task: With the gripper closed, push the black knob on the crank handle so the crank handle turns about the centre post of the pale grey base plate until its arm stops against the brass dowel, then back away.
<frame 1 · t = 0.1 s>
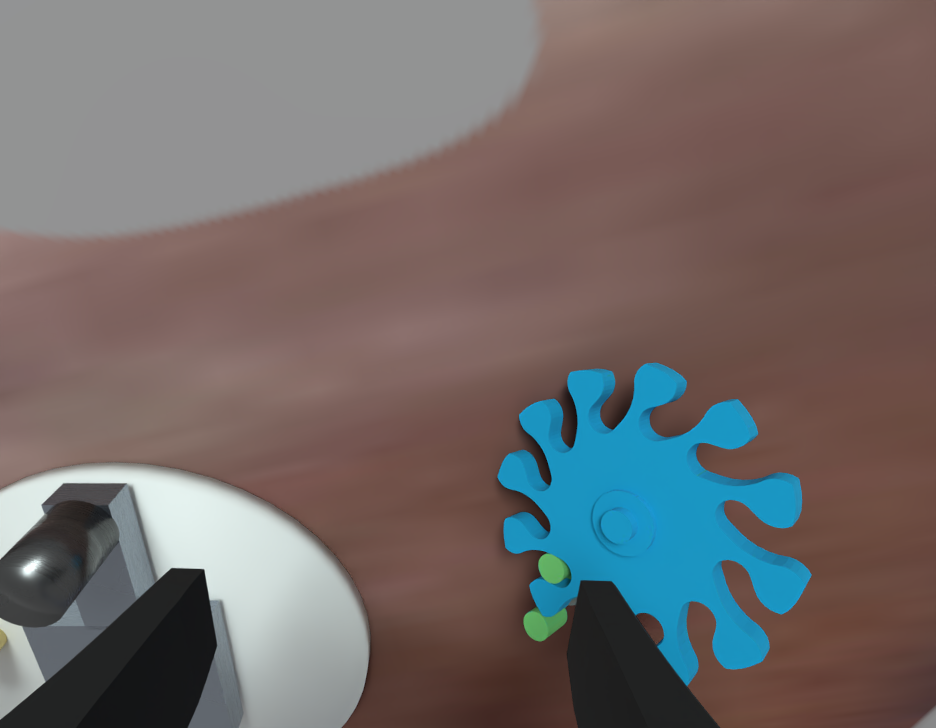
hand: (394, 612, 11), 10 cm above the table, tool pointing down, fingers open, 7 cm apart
crank handle: (104, 656, 21), point 3 cm above the table, hinge at 0.0°
gear: (595, 459, 22), on the table
base plate: (163, 634, 25), on the table
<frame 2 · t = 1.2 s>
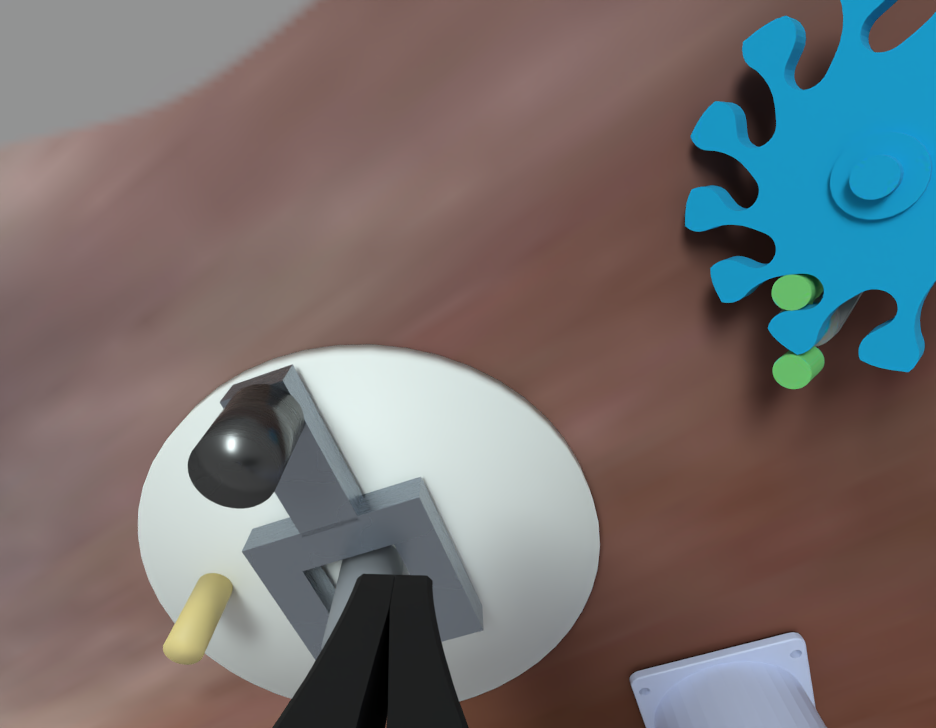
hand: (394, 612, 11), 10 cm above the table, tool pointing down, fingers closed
crank handle: (329, 553, 20), point 3 cm above the table, hinge at 0.0°
gear: (792, 177, 18), on the table
base plate: (376, 545, 24), on the table
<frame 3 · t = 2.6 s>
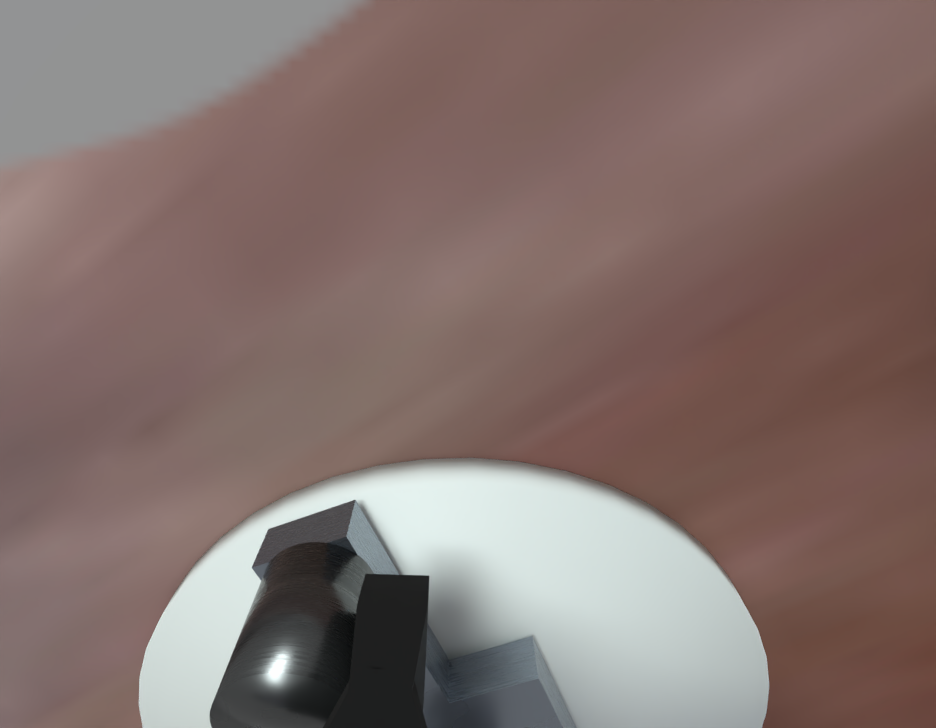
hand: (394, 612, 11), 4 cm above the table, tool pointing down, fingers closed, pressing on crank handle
base plate: (457, 702, 18), on the table
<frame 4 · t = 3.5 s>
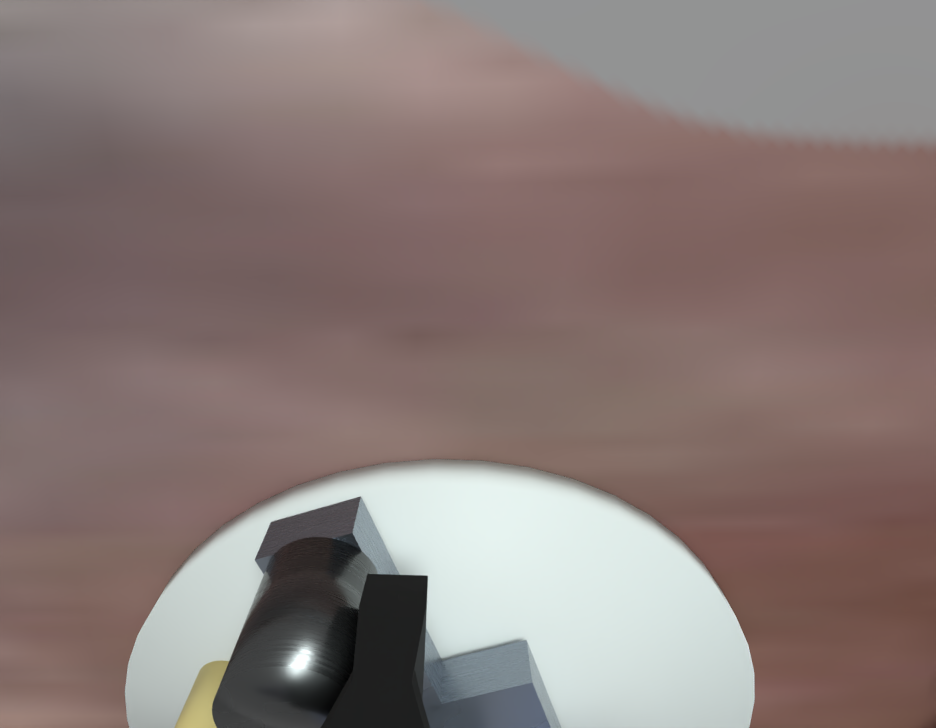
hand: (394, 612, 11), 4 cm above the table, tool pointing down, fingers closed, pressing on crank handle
base plate: (445, 704, 18), on the table
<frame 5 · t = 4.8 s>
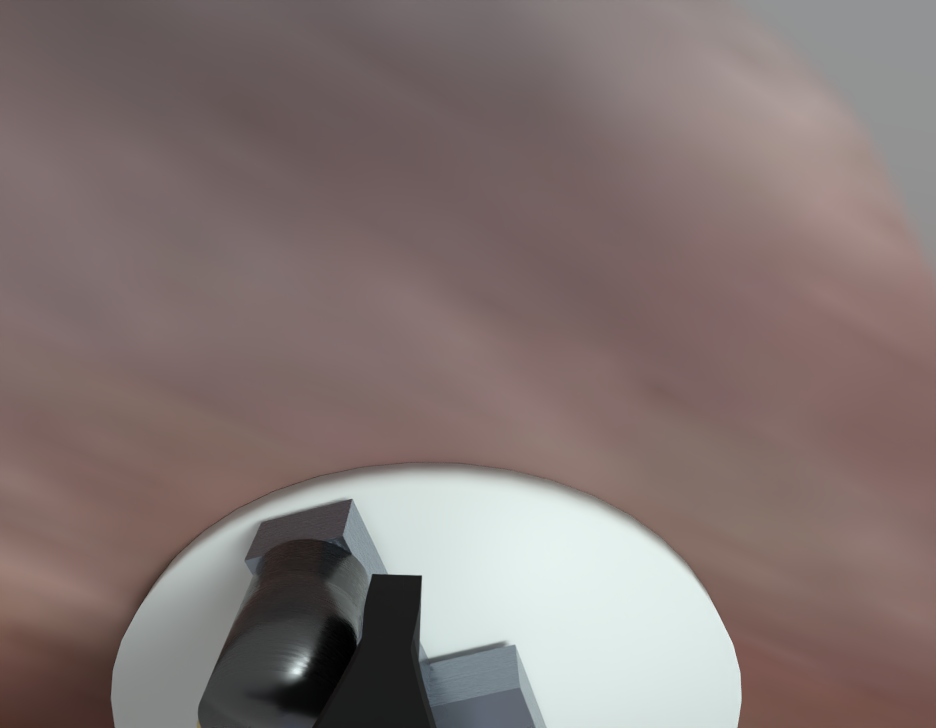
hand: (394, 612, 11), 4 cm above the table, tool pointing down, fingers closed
base plate: (432, 706, 18), on the table
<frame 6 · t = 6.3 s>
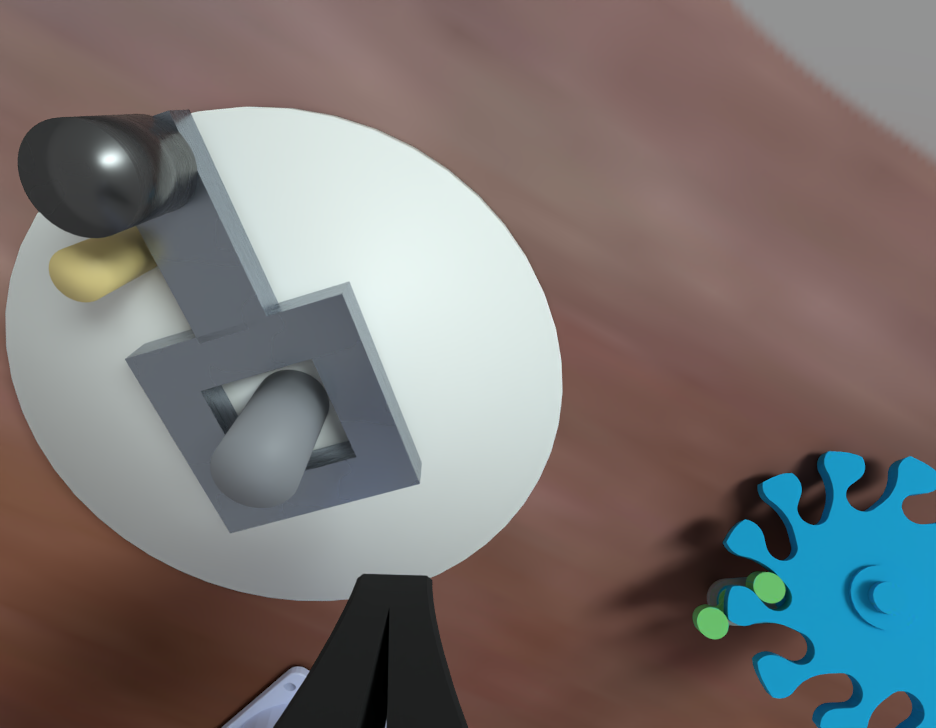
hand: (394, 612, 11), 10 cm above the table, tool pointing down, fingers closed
crank handle: (227, 355, 16), point 3 cm above the table, hinge at 60.1°
gear: (798, 522, 24), on the table
base plate: (300, 388, 20), on the table
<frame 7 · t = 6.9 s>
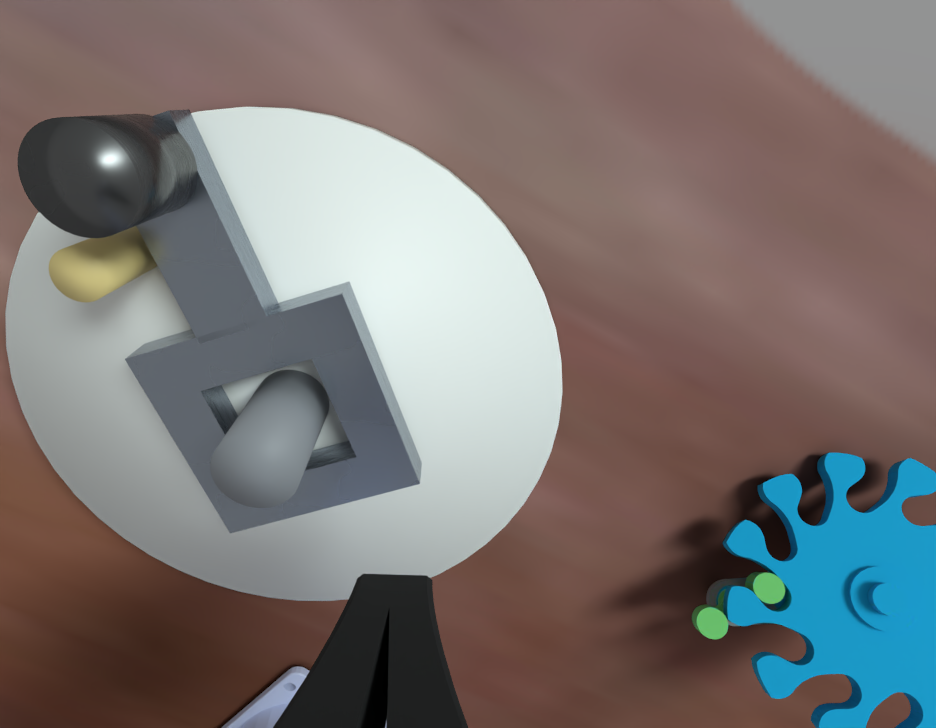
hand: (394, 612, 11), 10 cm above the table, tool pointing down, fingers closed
crank handle: (227, 355, 16), point 3 cm above the table, hinge at 60.1°
gear: (798, 524, 24), on the table
base plate: (300, 388, 20), on the table
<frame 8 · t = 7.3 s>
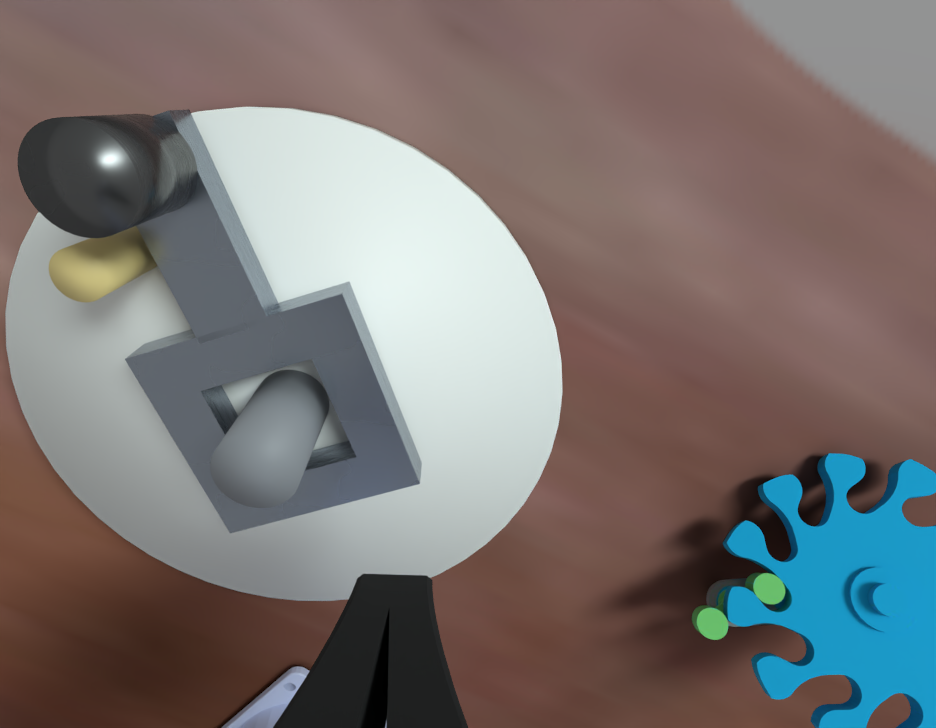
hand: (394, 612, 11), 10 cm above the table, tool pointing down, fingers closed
crank handle: (227, 355, 16), point 3 cm above the table, hinge at 60.1°
gear: (798, 524, 24), on the table
base plate: (300, 388, 20), on the table
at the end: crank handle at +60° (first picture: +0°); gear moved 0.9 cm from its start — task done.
